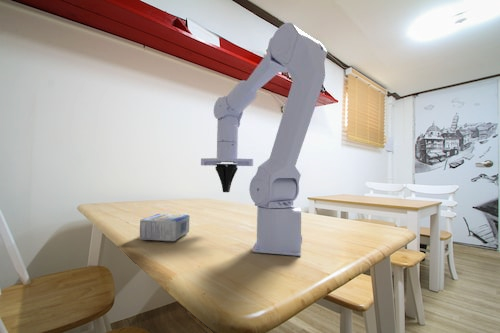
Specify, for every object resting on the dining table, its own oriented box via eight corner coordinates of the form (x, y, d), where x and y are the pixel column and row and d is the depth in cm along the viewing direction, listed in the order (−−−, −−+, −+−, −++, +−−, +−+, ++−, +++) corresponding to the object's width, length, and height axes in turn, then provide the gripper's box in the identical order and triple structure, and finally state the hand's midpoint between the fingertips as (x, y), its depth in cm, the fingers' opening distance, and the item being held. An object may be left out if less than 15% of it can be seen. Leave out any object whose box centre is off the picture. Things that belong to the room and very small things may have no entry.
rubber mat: (186, 233, 57) (186, 231, 57) (172, 241, 50) (172, 239, 51) (163, 231, 58) (163, 230, 59) (146, 239, 52) (146, 237, 52)
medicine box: (176, 221, 49) (139, 219, 50) (175, 241, 49) (138, 239, 50) (190, 214, 57) (157, 213, 58) (189, 232, 57) (157, 230, 58)
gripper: (255, 144, 65) (254, 191, 65) (207, 144, 68) (206, 190, 67) (251, 141, 58) (250, 193, 58) (198, 141, 61) (197, 191, 60)
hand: (226, 192), depth 62 cm, fingers closed
